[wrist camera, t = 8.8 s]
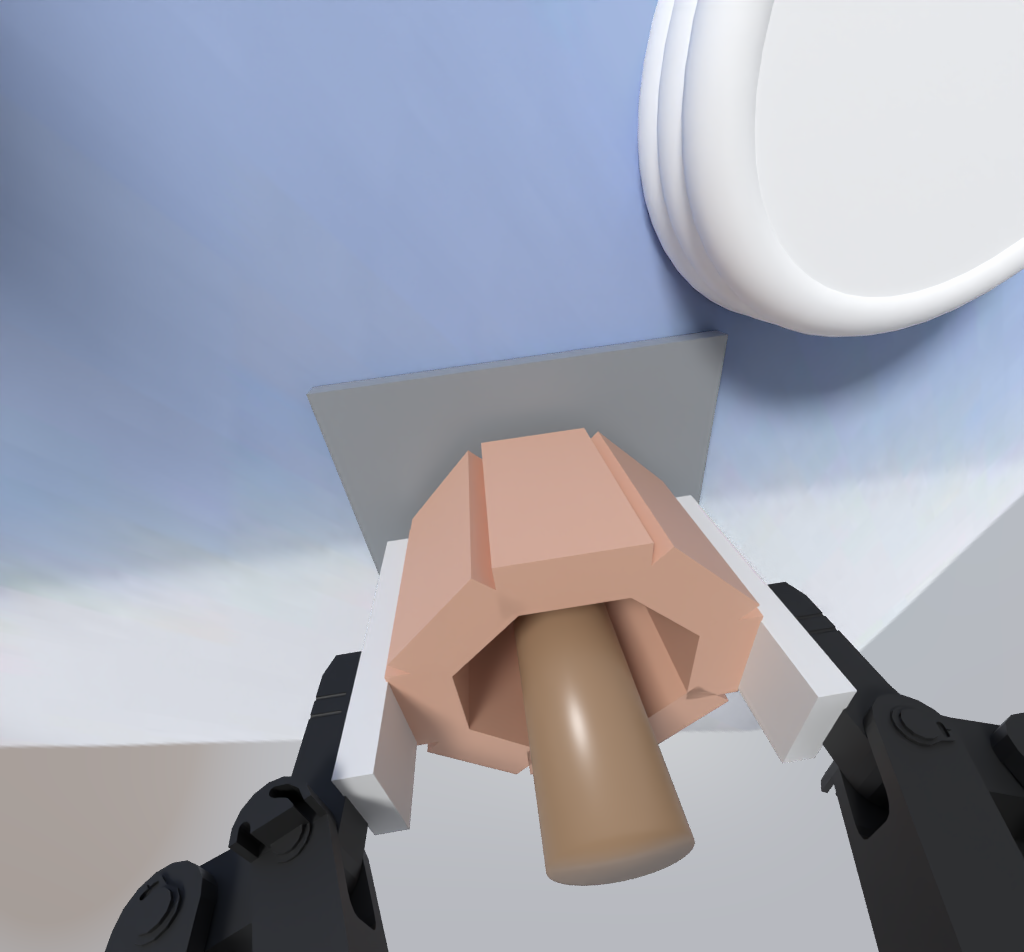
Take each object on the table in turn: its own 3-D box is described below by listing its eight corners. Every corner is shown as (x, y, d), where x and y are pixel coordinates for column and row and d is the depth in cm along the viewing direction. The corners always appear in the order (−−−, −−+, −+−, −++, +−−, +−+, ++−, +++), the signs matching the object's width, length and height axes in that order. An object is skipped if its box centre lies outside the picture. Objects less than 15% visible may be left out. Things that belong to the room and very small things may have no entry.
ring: (445, 640, 16) (438, 790, 12) (386, 456, 11) (342, 591, 7) (653, 607, 16) (720, 742, 12) (675, 414, 12) (796, 520, 7)
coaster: (1201, -239, 8) (1682, -541, 5) (903, 320, 13) (1036, 349, 10) (700, -365, 6) (907, -878, 3) (597, 308, 12) (643, 336, 9)
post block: (412, 643, 18) (373, 983, 10) (313, 387, 12) (-25, 757, 4) (674, 600, 18) (840, 894, 10) (716, 330, 12) (1242, 546, 4)
